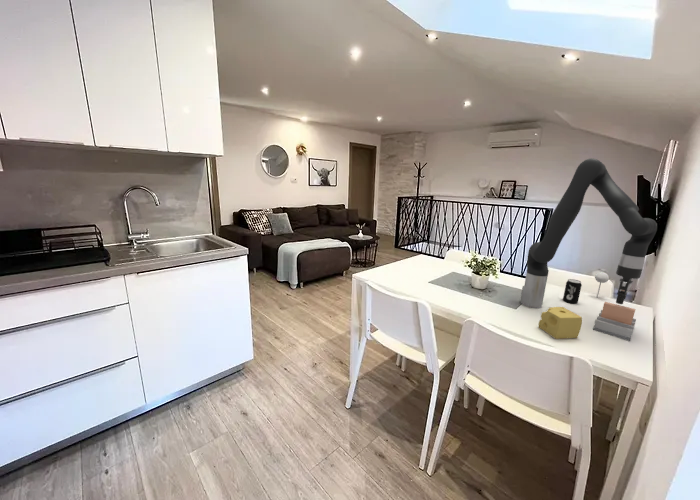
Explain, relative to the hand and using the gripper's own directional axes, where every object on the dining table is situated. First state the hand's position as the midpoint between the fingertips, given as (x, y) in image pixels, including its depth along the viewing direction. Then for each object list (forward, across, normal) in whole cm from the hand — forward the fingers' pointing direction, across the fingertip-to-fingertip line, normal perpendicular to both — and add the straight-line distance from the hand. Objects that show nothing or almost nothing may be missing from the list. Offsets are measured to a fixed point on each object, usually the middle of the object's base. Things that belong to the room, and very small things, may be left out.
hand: (620, 301), depth 124 cm
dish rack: (+14, +1, 0) cm, 14 cm away
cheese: (+14, -23, +15) cm, 31 cm away
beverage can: (+14, +21, +20) cm, 32 cm away
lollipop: (+14, +39, +11) cm, 43 cm away
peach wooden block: (+12, 0, 0) cm, 13 cm away
